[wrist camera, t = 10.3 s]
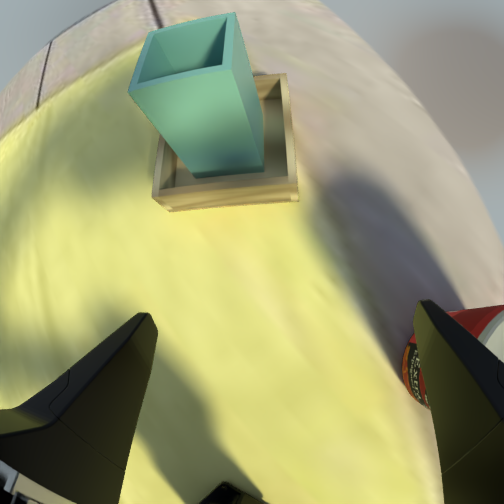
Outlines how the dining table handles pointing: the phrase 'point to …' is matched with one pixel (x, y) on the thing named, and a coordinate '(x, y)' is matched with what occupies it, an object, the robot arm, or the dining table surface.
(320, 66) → the dining table surface
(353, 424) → the dining table surface
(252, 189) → the pine crate
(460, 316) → the canned food
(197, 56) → the teal crate
